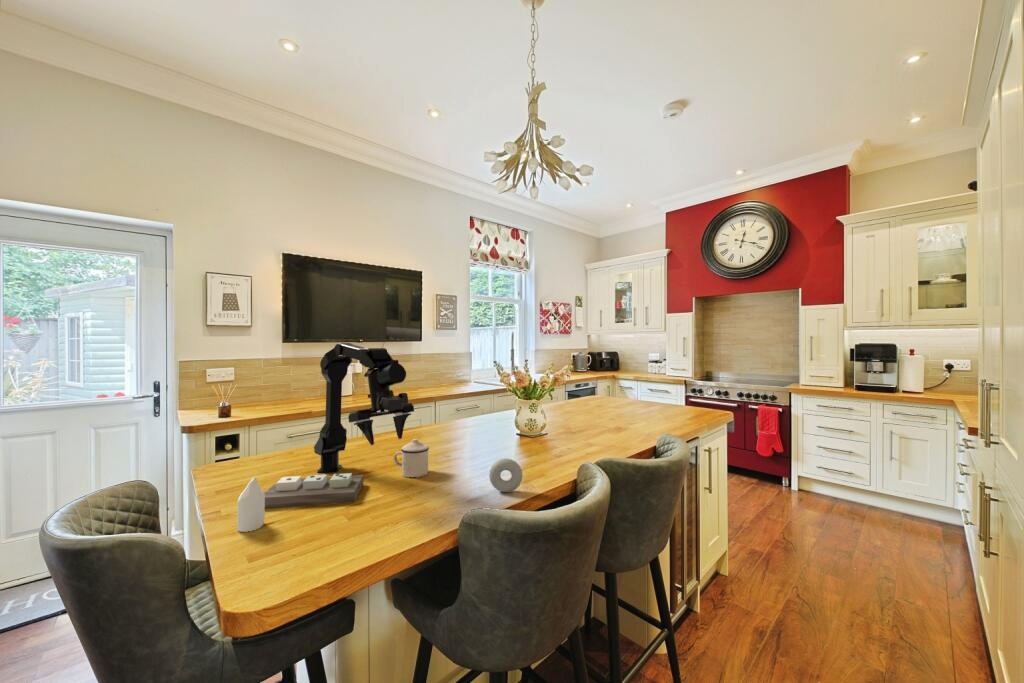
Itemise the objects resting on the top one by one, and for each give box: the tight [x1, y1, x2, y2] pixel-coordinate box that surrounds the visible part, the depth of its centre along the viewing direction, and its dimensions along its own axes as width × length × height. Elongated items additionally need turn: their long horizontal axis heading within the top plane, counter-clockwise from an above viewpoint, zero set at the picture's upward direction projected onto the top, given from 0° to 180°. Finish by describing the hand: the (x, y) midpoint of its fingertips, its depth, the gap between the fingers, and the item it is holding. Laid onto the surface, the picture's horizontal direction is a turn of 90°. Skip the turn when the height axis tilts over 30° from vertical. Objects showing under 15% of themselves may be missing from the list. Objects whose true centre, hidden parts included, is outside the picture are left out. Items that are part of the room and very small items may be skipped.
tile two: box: [303, 474, 328, 490], centre depth 114 cm, size 5×5×3 cm
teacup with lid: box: [393, 438, 430, 479], centre depth 134 cm, size 12×9×12 cm
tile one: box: [275, 475, 302, 491], centre depth 113 cm, size 5×5×3 cm
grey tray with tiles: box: [264, 474, 364, 510], centre depth 114 cm, size 14×24×3 cm, turn 101°
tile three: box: [330, 472, 353, 488], centre depth 116 cm, size 5×5×3 cm
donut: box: [489, 458, 524, 493], centre depth 118 cm, size 10×4×10 cm, turn 89°
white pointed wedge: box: [236, 476, 266, 533], centre depth 95 cm, size 6×12×6 cm
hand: (386, 441), depth 116 cm, fingers open, 9 cm apart
